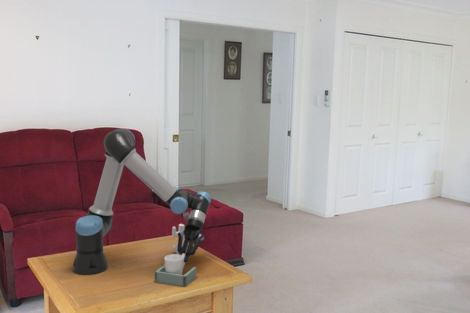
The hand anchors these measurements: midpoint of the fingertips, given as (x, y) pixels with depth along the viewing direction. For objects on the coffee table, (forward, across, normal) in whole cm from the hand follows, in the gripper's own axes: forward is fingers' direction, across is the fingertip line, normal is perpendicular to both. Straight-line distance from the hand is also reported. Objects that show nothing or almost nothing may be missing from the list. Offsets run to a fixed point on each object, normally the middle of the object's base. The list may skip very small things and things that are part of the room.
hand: (180, 268), depth 210 cm
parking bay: (+5, 0, 0) cm, 5 cm away
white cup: (+6, +1, +1) cm, 6 cm away
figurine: (-16, +12, -22) cm, 30 cm away
